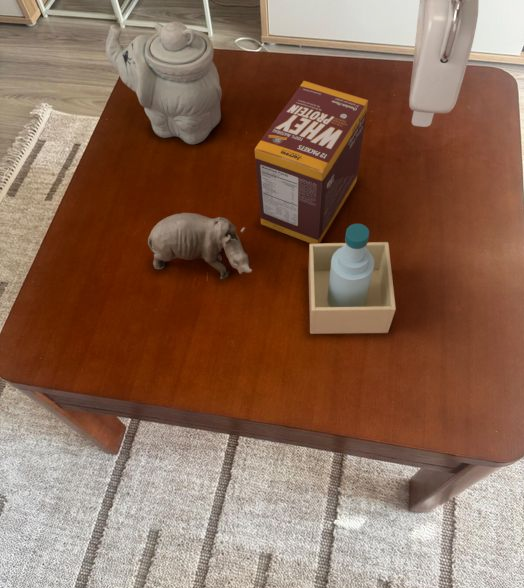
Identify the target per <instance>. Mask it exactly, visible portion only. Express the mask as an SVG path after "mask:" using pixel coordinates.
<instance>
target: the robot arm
mask: <svg viewBox="0 0 524 588" xmlns="http://www.w3.org/2000/svg"><path fill="white" fill-rule="evenodd" d="M418 2H419V3H418V12H417V21H416V22H417V23H416V31H415V39H414V40H415V42H414V50H413V58H412V59H413V60H412V61H413V62H412V68H411V69H412V70H411V77H410V78H411V79H410V87H409V88H410V89H409V97H408V105H409V109H410V110H411V111H412V116H411V125H413V126H414V127H423V128H428V127H430V126H431V125H432V123H433V119H434V117H435V116H434V115H435V114H439V115H440V114H441V115H442V114H443V115H444V114H449V113H451V112H452V110H453V109H454V108H455V106H456V103H457V101H458V98H459V96H460V95H459V94H460V91H461V88H462V84H463V81H464V77H465V73H466V70H467V66H468V64H469V63H468V62H469V59H470V55H471V51H472V48H473V44H474V40H475V36H476V35H475V34H476V31H477V24H478V16H479V2H480V1H479V0H419V1H418Z"/></svg>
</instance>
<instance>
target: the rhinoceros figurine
mask: <svg viewBox="0 0 524 588" xmlns="http://www.w3.org/2000/svg"><path fill="white" fill-rule="evenodd" d="M245 230H246V227H245V226H244V227H242V228H241V230H240V232H241V233H244V232H245ZM147 245H148V247H149V249H150V250H151V252H152V253H153V261H152V265H153V267H154V269H156V270H162V269H164V268H166V267H165V266H166V265H165V264H166V262H171V261H173V259H180V260H185V261H192V260H197V259H202V260H204V262H206V263H207V264H208V265H209V266H210V267H212V268H213V269H215V270H216V271H218V272H219V273H220V277H219V278H220V280H222V279H224V278H225V279H226V277H228V276H229V273H230V271H227V268H226V266H225V264H224V263H222V259H223V257H222V254H221V253H220V252H222V251H223V250H224V253H225V256H226V258H227V260H228V262H229V264H230V266H231V267H232V268H233V269H236V270H237V272H238V274H239V275H242V274H243V273H246V274H250V273H252V272H253V269H252V268H250V266H249V265H250V261H249V255H248V254H247V253H246V252H245V251H244V247H243V246H242V241H241V239H240V237H239V235H238V233H237V227H236V226H235V225H234V224H233V223H232V222H231V221H230V220H229V219H227V218H226V217H223V216H222V217H221V216H218V217H215V218H211V217H208V216H205V215H202V214H200V213H197V212H196V213H195V212H193V213H192V212H181V213H175V214H172V215H170V216H167V217H164V218H163V219H162V220H160V221H158V222H157V223H156V225H154V226H153V228H152V229H151V231H150V233H149V236H148V237H147Z"/></svg>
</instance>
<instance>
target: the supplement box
mask: <svg viewBox="0 0 524 588" xmlns="http://www.w3.org/2000/svg"><path fill="white" fill-rule="evenodd" d="M368 107H369V99H365V98H362V97H359V96H355V95H352V94H350V93H345V92H343V91H340V90H336V89H332V88H329V87H327V86H322V85H319V84H316V83H314V82H310V81H306V80H303V81H302V83H300V86H299V87H298V88H297V90H296V91H295V92H294V94H293V95H292V97H291V98H290V99H289V101H288V102H287V104H285V106H284V108H283V109H282V110H281V111H280V113H278V115H277V117H276V119H274V121H273V123H272V124H271V125H270V127H269V128H268V129H267V131H266V132H265V134H264V135H263V136H262V138H261V139H260V141H259V142H258V143H257V145H256V146H255V148H254V159H255V160H254V161H255V170H256V183H257V191H258V204H259V205H258V206H259V218H260V225H262V226H265V227H267V228H269V229H272V230H275V231H277V232H279V233H282V234H285V235H287V236H289V237H292V238H296V239H298V240H300V241H303V242H306V243H308V244H321V242H322V240H323V239H324V237H325V235H326V234H327V232H328V230H329V229H330V227H331V226H332V224H333V222H334V220H335V219H336V217H337V215H338V214H339V212H340V210H341V208H342V207H343V205H344V203H345V202H346V200H347V198H348V197H349V196H350V193H351V192H352V191H353V188H354V187H355V185H356V183H357V181H358V175H359V167H360V160H361V154H362V146H363V140H364V133H365V126H366V118H367V114H368V113H367V112H368Z"/></svg>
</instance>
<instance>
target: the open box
mask: <svg viewBox="0 0 524 588" xmlns="http://www.w3.org/2000/svg"><path fill="white" fill-rule="evenodd" d="M344 245H346V242H327V243H326V242H325V243H323V242H322V243H321V242H320V244H311V243H309V248H308V249H309V251H308V252H309V253H308V301H309V303H308V304H309V306H308V307H309V333H310V334H311V335H312V334H313V335H314V334H315V335H317V334H319V335H321V334H388V333H389V330H390V328H391V325H392V322H393V318H394V316H395V313H396V311H397V310H396V309H397V307H396V299H395V289H394V284H393V283H394V281H393V273H392V262H391V255H390V246H389V242H388V241H377V242H376V241H375V242H371V241H369V242H368V243H367V245H366V246H365V247H366V248H367V249H368V251H369V252H370V253H371V254H372V256H373V258H374V269H373V273H372V277H371V282H370V286H369V291H368V295H367V299H366V303H365V306H364V307H330V305H329V303H328V288H329V278H330V269H331V260H332V256H333V254H334V253H335V252H336V251H337V250H338V249H339V248H341V247H342V246H344Z"/></svg>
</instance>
